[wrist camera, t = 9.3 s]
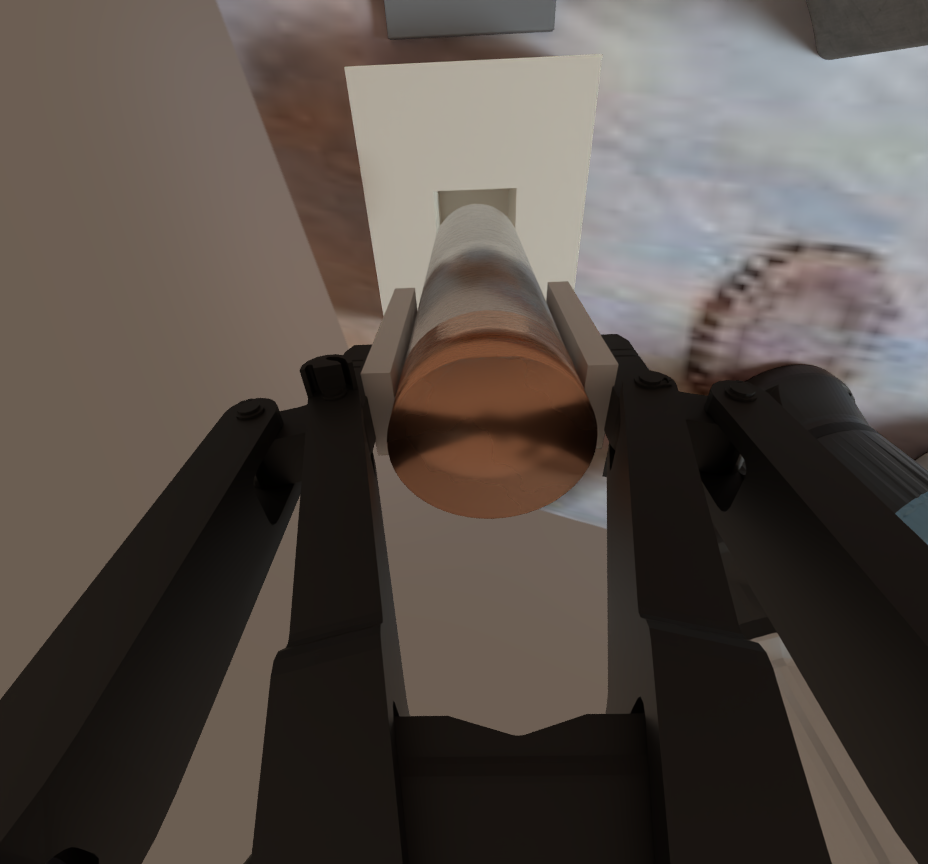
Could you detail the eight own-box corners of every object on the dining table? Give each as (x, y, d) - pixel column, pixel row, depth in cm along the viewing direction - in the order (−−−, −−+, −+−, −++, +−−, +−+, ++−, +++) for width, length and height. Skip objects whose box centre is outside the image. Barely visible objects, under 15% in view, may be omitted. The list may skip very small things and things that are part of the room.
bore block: (552, 317, 44) (566, 351, 38) (400, 322, 45) (389, 356, 38) (575, 66, 32) (602, 53, 26) (368, 76, 33) (344, 66, 26)
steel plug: (518, 292, 26) (583, 516, 12) (437, 296, 26) (401, 521, 12) (521, 201, 23) (614, 349, 9) (429, 205, 23) (369, 357, 9)
